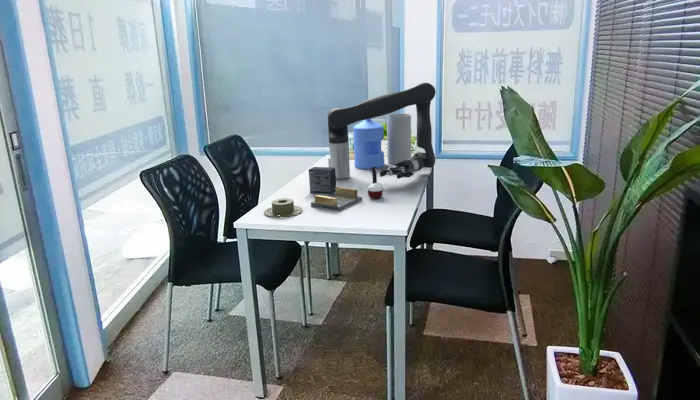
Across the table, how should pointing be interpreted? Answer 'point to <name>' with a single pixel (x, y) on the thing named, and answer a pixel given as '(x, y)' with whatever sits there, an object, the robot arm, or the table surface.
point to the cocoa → (375, 187)
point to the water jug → (368, 144)
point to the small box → (322, 180)
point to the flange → (283, 208)
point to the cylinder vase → (398, 137)
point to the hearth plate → (337, 199)
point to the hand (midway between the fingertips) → (389, 175)
